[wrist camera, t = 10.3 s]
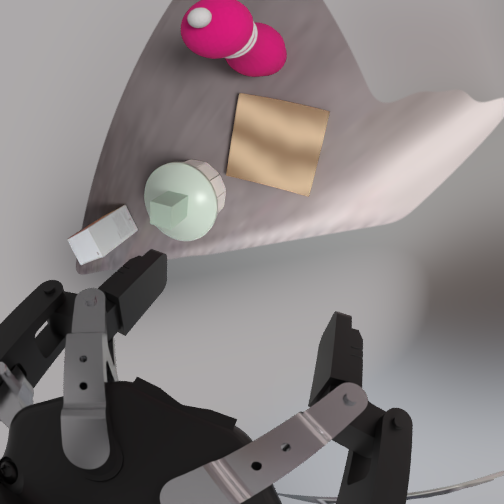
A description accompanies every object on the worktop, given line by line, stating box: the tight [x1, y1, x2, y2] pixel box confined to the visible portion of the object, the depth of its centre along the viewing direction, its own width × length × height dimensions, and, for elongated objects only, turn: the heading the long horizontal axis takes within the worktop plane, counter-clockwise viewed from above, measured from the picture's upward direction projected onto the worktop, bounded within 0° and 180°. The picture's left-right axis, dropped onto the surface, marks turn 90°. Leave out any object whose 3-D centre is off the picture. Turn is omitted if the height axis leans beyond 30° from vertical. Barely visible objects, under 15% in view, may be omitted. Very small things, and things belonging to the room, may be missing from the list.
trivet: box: [226, 93, 330, 197], centre depth 36 cm, size 12×12×1 cm
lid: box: [144, 162, 218, 241], centre depth 37 cm, size 12×12×5 cm
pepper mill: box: [181, 0, 287, 77], centre depth 23 cm, size 7×7×20 cm
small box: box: [68, 205, 138, 265], centre depth 47 cm, size 8×6×10 cm
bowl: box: [183, 159, 226, 214], centre depth 41 cm, size 10×10×5 cm
